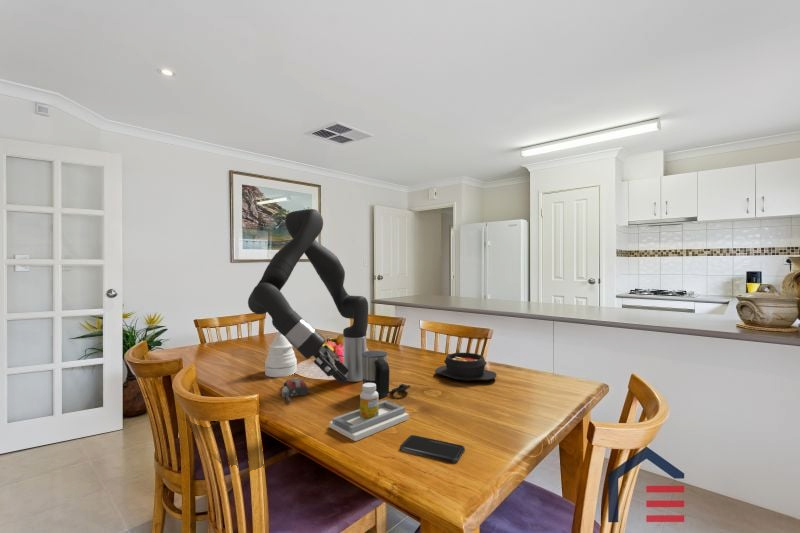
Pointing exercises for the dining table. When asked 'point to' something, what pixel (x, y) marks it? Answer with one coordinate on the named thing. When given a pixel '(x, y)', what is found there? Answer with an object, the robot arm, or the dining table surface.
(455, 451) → the phone
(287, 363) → the honey pot
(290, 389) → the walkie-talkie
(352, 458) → the dining table surface
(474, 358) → the casserole
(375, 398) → the supplement bottle
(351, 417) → the board
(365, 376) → the milk frother
